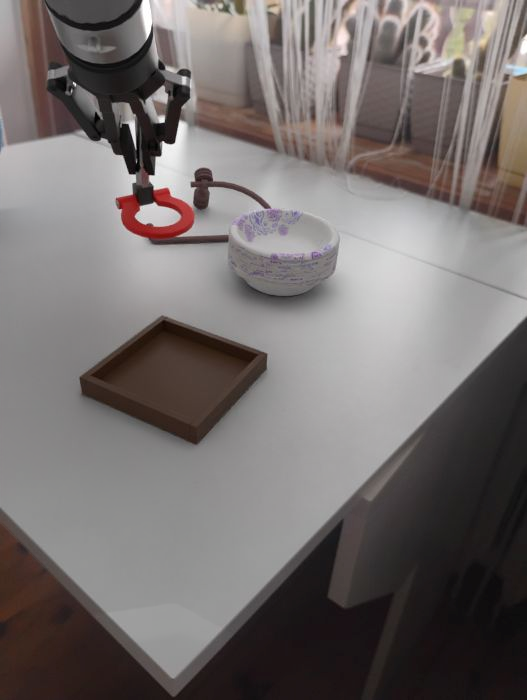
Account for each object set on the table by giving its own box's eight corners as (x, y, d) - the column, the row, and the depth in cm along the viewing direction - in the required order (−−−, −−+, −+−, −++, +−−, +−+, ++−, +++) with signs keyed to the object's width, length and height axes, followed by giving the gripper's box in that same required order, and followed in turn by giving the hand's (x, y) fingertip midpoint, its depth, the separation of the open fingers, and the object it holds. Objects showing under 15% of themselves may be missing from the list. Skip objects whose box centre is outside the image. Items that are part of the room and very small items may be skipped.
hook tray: (81, 393, 67) (79, 376, 65) (162, 330, 77) (162, 314, 76) (196, 444, 62) (196, 427, 60) (266, 369, 72) (267, 353, 71)
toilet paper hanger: (146, 238, 95) (140, 165, 100) (147, 267, 102) (141, 197, 108) (285, 233, 99) (271, 163, 105) (276, 261, 107) (264, 195, 112)
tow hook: (206, 232, 73) (172, 194, 78) (210, 125, 64) (171, 90, 69) (138, 249, 69) (108, 207, 75) (132, 137, 60) (98, 100, 66)
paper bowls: (285, 321, 81) (291, 266, 76) (204, 278, 89) (205, 226, 84) (354, 282, 90) (362, 232, 86) (275, 247, 98) (279, 198, 94)
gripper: (6, 64, 49) (76, 191, 72) (195, 74, 49) (204, 197, 73) (15, -22, 50) (81, 131, 73) (198, -10, 51) (206, 137, 74)
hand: (142, 164), depth 73 cm, fingers closed on tow hook, 1 cm apart
